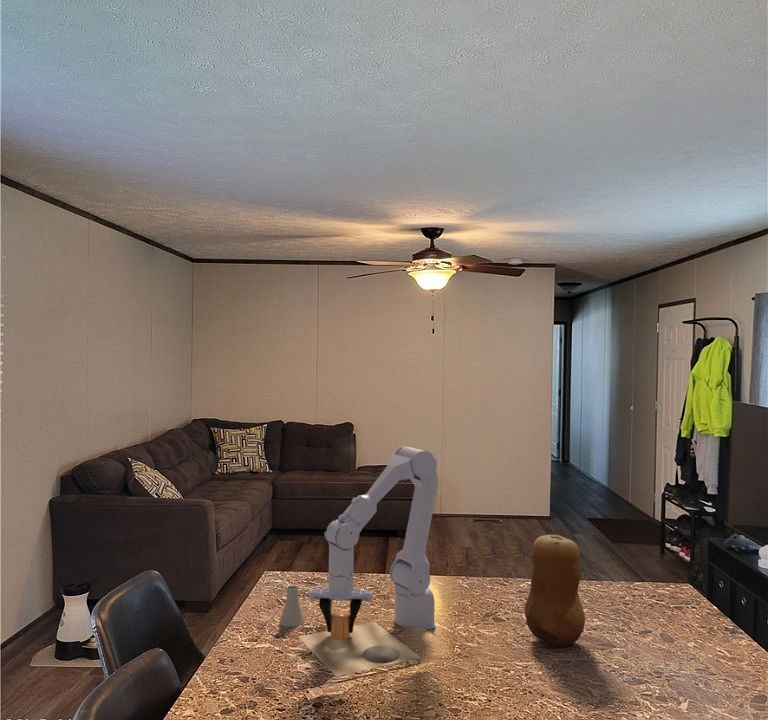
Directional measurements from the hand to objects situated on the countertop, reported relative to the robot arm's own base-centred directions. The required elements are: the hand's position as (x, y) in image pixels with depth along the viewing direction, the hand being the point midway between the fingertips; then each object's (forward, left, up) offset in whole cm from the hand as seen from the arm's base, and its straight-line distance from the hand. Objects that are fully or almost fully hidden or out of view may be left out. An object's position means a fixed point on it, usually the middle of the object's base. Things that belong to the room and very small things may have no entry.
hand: (340, 630), depth 166 cm
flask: (+7, -13, -3) cm, 15 cm away
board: (-1, +7, -3) cm, 8 cm away
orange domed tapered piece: (0, 0, -1) cm, 1 cm away
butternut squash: (-45, +22, -3) cm, 50 cm away
